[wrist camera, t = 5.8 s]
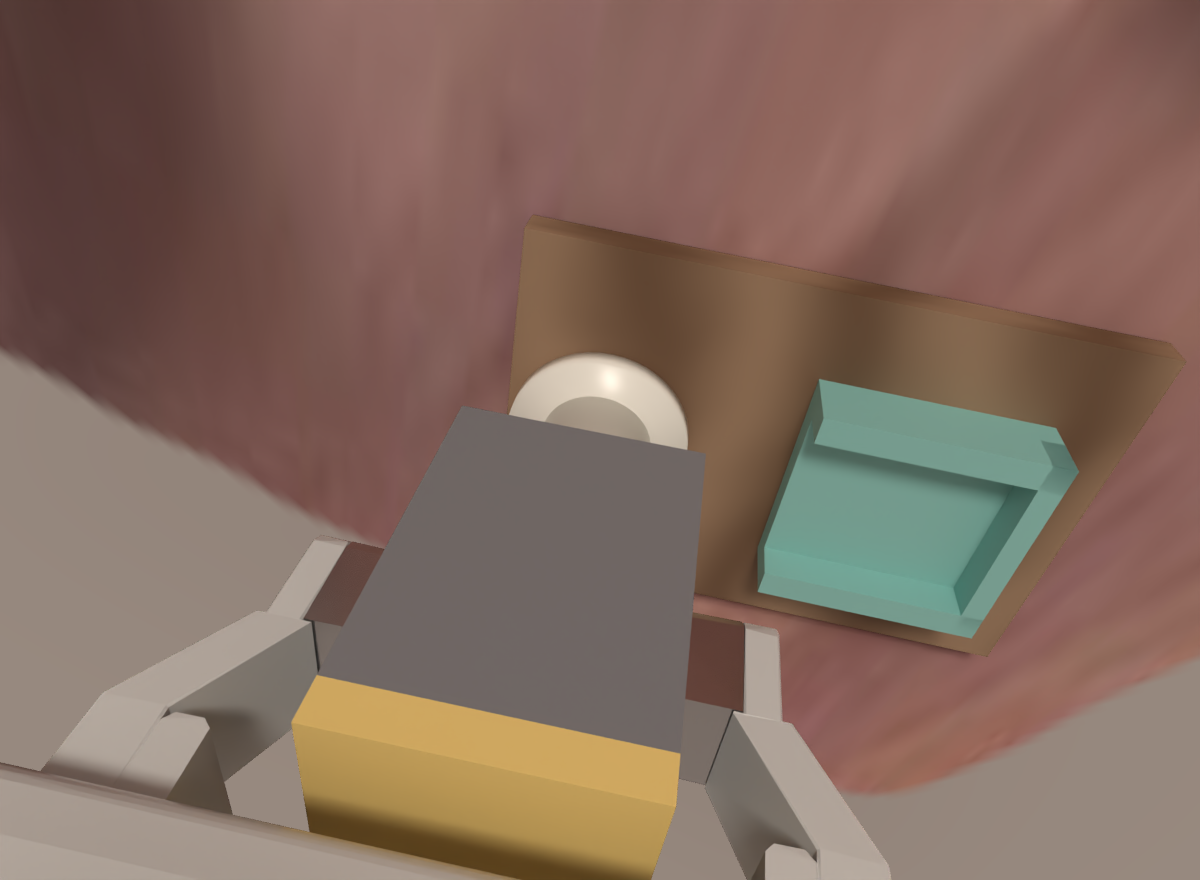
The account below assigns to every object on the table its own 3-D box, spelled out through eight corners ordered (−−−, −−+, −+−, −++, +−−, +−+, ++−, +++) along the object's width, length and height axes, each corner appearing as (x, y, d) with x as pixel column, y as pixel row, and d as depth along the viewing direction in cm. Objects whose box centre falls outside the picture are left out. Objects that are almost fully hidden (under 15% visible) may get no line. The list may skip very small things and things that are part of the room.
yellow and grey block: (457, 577, 15) (321, 902, 11) (462, 406, 13) (291, 722, 8) (662, 620, 15) (620, 969, 10) (706, 453, 13) (676, 806, 8)
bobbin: (505, 480, 32) (415, 704, 24) (520, 335, 28) (417, 541, 20) (669, 515, 32) (637, 754, 23) (706, 374, 28) (684, 599, 19)
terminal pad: (757, 548, 32) (757, 591, 30) (819, 378, 27) (823, 418, 25) (958, 591, 32) (971, 638, 30) (1055, 428, 27) (1079, 471, 25)
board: (501, 530, 35) (494, 548, 34) (532, 214, 27) (524, 228, 26) (980, 634, 35) (987, 656, 34) (1170, 343, 26) (1186, 361, 25)
